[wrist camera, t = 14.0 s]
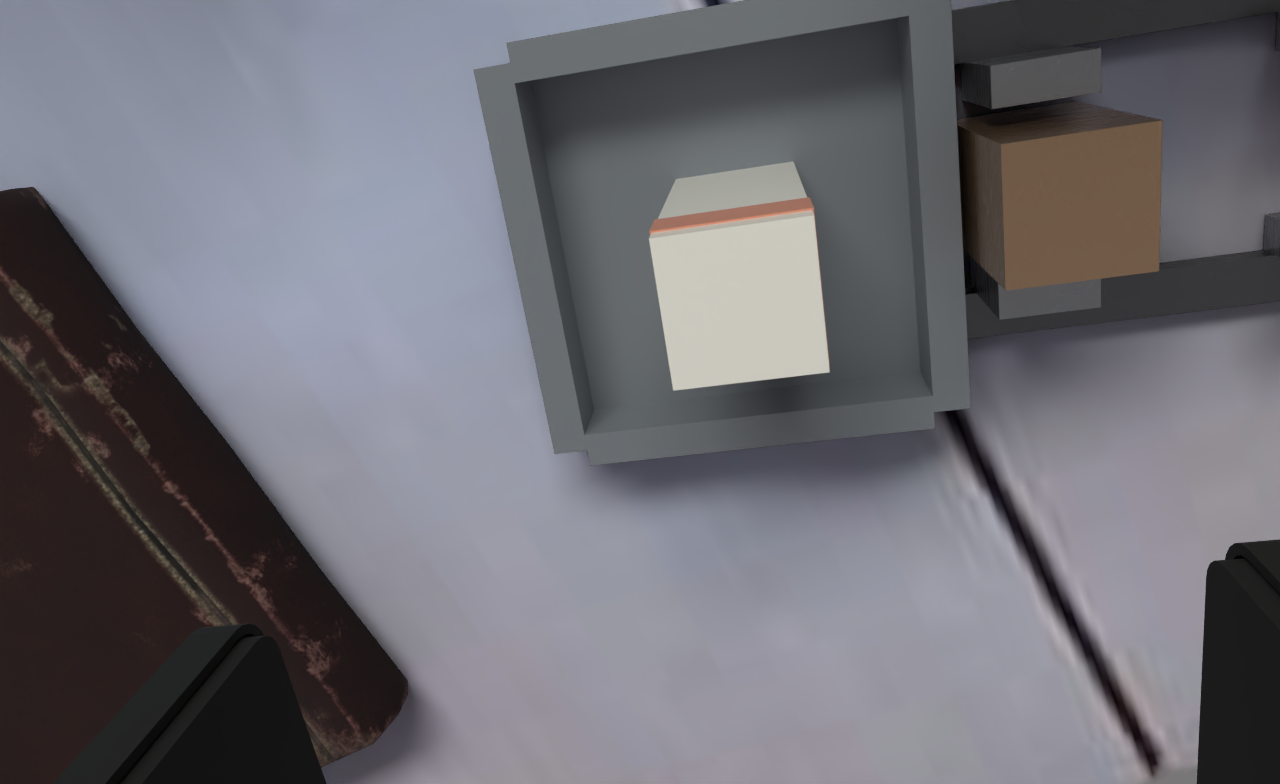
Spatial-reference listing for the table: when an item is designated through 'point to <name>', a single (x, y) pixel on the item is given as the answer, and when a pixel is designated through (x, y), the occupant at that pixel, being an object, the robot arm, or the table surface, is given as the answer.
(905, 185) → the tray
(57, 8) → the table surface
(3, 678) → the diary
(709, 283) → the block
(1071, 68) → the fuse holder
